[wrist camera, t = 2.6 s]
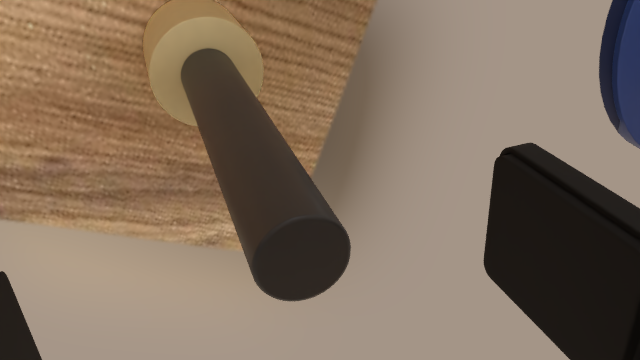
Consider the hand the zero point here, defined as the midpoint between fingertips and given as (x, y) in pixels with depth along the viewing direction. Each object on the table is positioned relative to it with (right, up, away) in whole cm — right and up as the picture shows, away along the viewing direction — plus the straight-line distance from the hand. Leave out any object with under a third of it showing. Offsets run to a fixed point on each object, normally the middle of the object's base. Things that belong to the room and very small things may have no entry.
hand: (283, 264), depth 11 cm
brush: (-5, +7, +13) cm, 16 cm away
